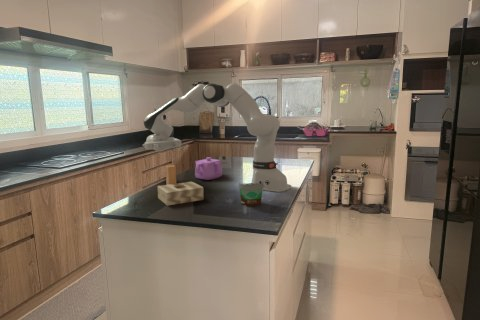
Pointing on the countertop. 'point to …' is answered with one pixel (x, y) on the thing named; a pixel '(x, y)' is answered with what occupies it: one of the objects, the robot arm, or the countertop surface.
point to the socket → (180, 193)
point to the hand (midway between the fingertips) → (167, 145)
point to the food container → (251, 193)
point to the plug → (170, 174)
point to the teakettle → (208, 169)
